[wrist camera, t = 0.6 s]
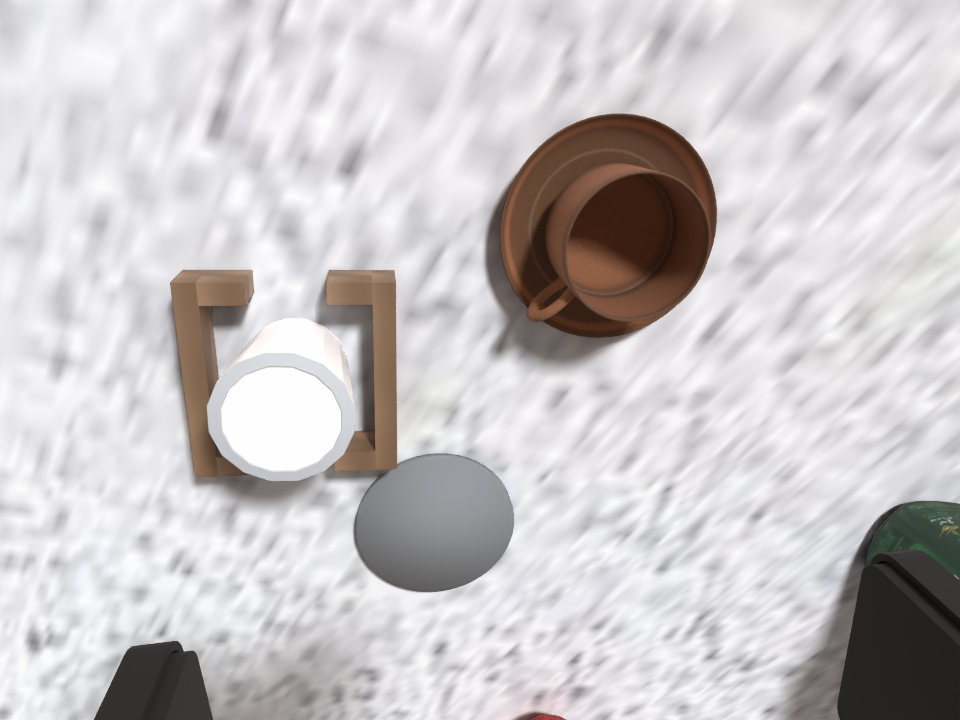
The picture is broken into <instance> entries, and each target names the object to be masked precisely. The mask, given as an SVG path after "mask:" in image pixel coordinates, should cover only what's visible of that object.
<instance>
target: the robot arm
mask: <svg viewBox="0 0 960 720" xmlns="http://www.w3.org/2000/svg"><path fill="white" fill-rule="evenodd" d="M837 708H838V714H839V718H840V720H960V580H958V579H957V578H956V577H955V576H954V575H952V574H951V573H950V572H949V571H948V570H947V569H945V568H944V567H943V566H942V565H941V564H939V563H938V562H937V561H936V560H935V559H933V558H932V557H931V556H930V555H929V554H927V553H925V552H924V551H922V550H918V549H910V550H902V551H894V552H886V553H880V554H876V555H875V556H874V557H873V558H872V560H871V563H870V565H869V566H866V567H865V568H864V569H863V572H862V576H861V581H860V586H859V592H858V597H857V602H856V608H855V613H854V618H853V624H852V629H851V634H850V639H849V645H848V650H847V655H846V661H845V666H844V671H843V677H842V682H841V687H840V693H839V698H838V706H837ZM94 720H213V718H212V714H211V710H210V706H209V701H208V697H207V693H206V689H205V685H204V681H203V677H202V673H201V669H200V665H199V661H198V657H197V654H196V653H195V652H194V651H186V652H184V651H183V648H182V646H181V644H180V643H179V642H178V641H171V642H163V643H155V644H147V645H139V646H132V647H131V648H129V649H128V650H127V652H126V653H125V655H124V657H123V659H122V661H121V663H120V665H119V667H118V670H117V672H116V674H115V676H114V678H113V680H112V682H111V685H110V687H109V689H108V691H107V693H106V695H105V697H104V699H103V702H102V704H101V706H100V708H99V710H98V712H97V714H96V716H95V719H94Z"/></svg>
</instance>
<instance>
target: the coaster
mask: <svg viewBox="0 0 960 720" xmlns="http://www.w3.org/2000/svg"><path fill="white" fill-rule="evenodd" d="M513 527H514V513H513V507H512V504H511V501H510V498H509V495H508V492H507V490H506V488H505V486H504V485H503V483H502V482H501V481H500V479H499V478H498V477H497V476H496V475H495V474H494V473H493V472H492V471H491V470H489V469H488V468H487V467H485V466H484V465H482V464H480V463H478V462H477V461H474V460H472V459H469V458H466V457H463V456H459V455H453V454H427V455H422V456H417V457H413V458H411V459H408V460H405V461H403V462H401V463H398V464H397V469H388V470H387V471H385V472H384V473H383V474H382V475H380V476H379V477H378V478H377V479H376V480H375V481H374V482H373V483H372V485H371V486H370V487H369V489H368V490H367V491H366V493H365V495H364V497H363V499H362V501H361V503H360V506H359V509H358V514H357V522H356V536H357V542H358V546H359V549H360V552H361V554H362V556H363V558H364V559H365V561H366V562H367V564H368V565H369V566H370V567H371V569H372V570H373V571H374V572H375V573H377V574H378V575H379V576H380V577H382V578H383V579H385V580H386V581H388V582H390V583H392V584H394V585H396V586H399V587H402V588H405V589H409V590H414V591H422V592H437V591H445V590H449V589H454V588H457V587H460V586H463V585H465V584H468V583H470V582H472V581H474V580H476V579H477V578H479V577H481V576H482V575H483V574H485V573H486V572H487V571H489V570H490V569H491V568H492V567H493V566H494V565H495V564H496V563H497V562H498V560H499V559H500V558H501V557H502V555H503V554H504V552H505V550H506V549H507V547H508V544H509V542H510V540H511V536H512V533H513Z"/></svg>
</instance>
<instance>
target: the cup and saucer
mask: <svg viewBox="0 0 960 720" xmlns="http://www.w3.org/2000/svg"><path fill="white" fill-rule="evenodd" d="M716 223H717V207H716V198H715V192H714V188H713V184H712V180H711V178H710V175H709V173H708V170H707V168H706V166H705V164H704V162H703V160H702V159H701V157H700V156H699V154H698V153H697V152H696V150H695V149H694V148H693V147H692V145H691V144H690V143H689V142H688V141H687V140H686V139H685V138H684V137H682V136H681V135H680V134H679V133H677V132H676V131H675V130H673V129H671V128H670V127H668V126H666V125H665V124H662V123H660V122H658V121H656V120H653V119H650V118H647V117H643V116H638V115H632V114H607V115H599V116H595V117H591V118H587V119H584V120H582V121H579V122H576V123H574V124H572V125H570V126H568V127H566V128H564V129H562V130H561V131H559V132H557V133H556V134H555V135H553V136H552V137H550V138H549V139H548V140H546V141H545V142H544V143H543V144H542V145H541V146H540V147H539V148H538V149H537V150H536V151H535V152H534V153H533V154H532V155H531V156H530V157H529V158H528V160H527V161H526V162H525V164H524V165H523V166H522V168H521V169H520V171H519V173H518V174H517V176H516V178H515V180H514V182H513V184H512V185H511V188H510V190H509V193H508V195H507V198H506V201H505V205H504V208H503V213H502V219H501V228H500V245H501V254H502V259H503V264H504V267H505V270H506V274H507V276H508V278H509V281H510V283H511V285H512V287H513V289H514V290H515V292H516V294H517V295H518V297H519V298H520V300H521V301H522V302H523V303H524V304H525V306H526V307H527V308H528V311H527V316H528V318H529V319H530V320H531V321H534V322H539V321H544V322H545V323H547V324H549V325H550V326H552V327H554V328H556V329H558V330H561V331H563V332H566V333H569V334H573V335H577V336H583V337H595V338H602V337H613V336H619V335H623V334H627V333H630V332H633V331H636V330H639V329H641V328H643V327H645V326H648V325H650V324H651V323H653V322H655V321H657V320H658V319H660V318H661V317H663V316H664V315H666V314H667V313H668V312H669V311H671V310H672V309H673V308H674V307H675V306H676V305H677V304H679V303H680V302H681V301H682V300H683V299H684V298H685V297H686V296H687V295H688V294H689V293H690V292H691V291H692V289H693V288H694V287H695V285H696V284H697V282H698V281H699V279H700V277H701V275H702V273H703V271H704V269H705V267H706V264H707V261H708V258H709V255H710V253H711V249H712V246H713V242H714V237H715V232H716Z"/></svg>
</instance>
